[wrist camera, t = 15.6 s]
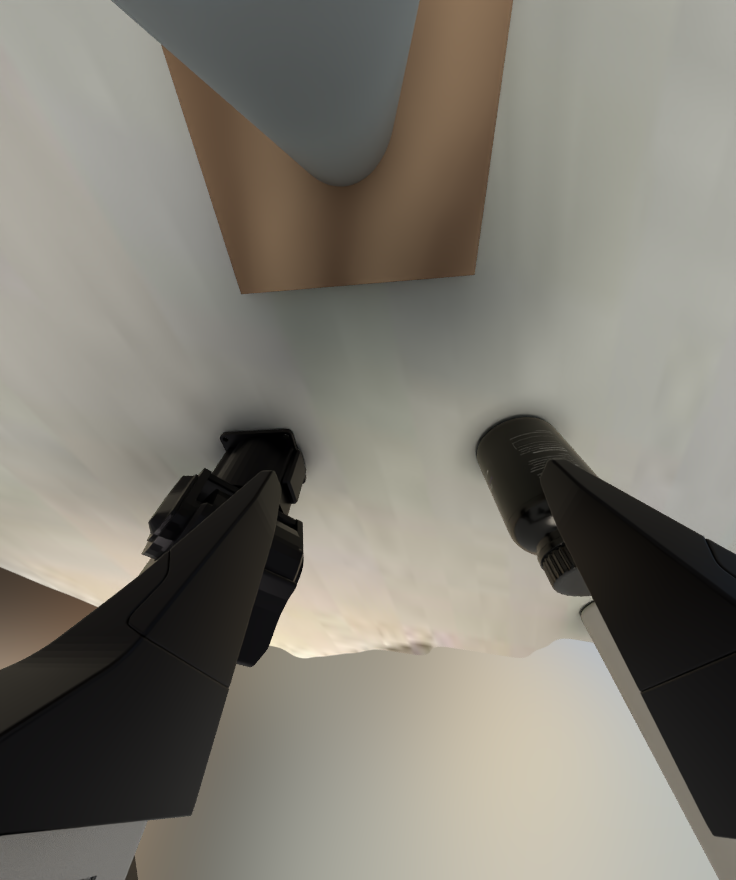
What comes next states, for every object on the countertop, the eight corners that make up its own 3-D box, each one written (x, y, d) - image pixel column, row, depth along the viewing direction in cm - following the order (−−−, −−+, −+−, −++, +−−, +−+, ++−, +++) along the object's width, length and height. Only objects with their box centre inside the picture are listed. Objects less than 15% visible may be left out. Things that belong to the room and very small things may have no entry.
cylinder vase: (586, 594, 43) (768, 909, 23) (679, 586, 41) (970, 926, 21) (572, 623, 50) (702, 882, 30) (651, 618, 48) (845, 892, 28)
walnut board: (247, 291, 18) (241, 294, 17) (101, -186, 9) (75, -225, 8) (469, 272, 17) (474, 274, 16) (540, -273, 8) (558, -326, 7)
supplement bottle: (459, 460, 26) (508, 593, 17) (507, 402, 22) (605, 533, 13) (518, 480, 28) (593, 612, 18) (572, 429, 24) (704, 563, 14)
